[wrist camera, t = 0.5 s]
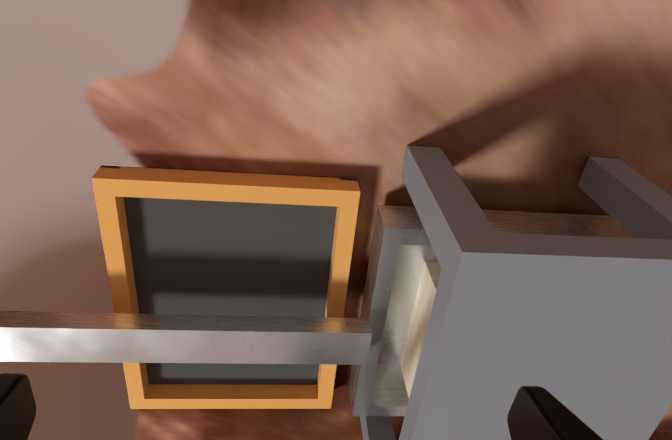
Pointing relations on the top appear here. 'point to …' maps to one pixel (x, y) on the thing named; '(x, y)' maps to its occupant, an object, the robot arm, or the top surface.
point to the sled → (286, 318)
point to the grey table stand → (541, 311)
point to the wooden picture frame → (226, 271)
